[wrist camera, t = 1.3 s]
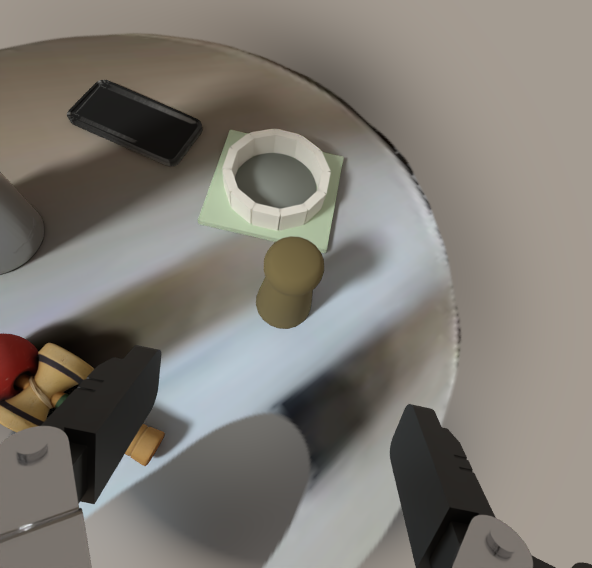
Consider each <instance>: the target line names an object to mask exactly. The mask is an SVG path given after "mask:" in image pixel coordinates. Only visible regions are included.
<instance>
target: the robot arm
mask: <svg viewBox="0 0 592 568" xmlns="http://www.w3.org/2000/svg"><path fill="white" fill-rule="evenodd" d="M43 236H44V224H43V221H42V218H41V216H40V215H39V213H38V212H37V211H36V210H35V209H34V208H33V207H32V205H31V204H30V203H29V202H28V201H27V200H26V199H25V198H24V197H23V196H22V195H21V194H20V193H19V191H18V190H17V189H16V188H15V187H14V186H13V185H12V184H11V183H10V182H9V181H8V180H7V178H6V177H5V176H4V175H3V174H2V173H1V172H0V274H3V273H6V272H9V271H11V270H13V269H16V268H18V267H19V266H21V265H22V264H24V263H25V262H27V261H28V260H29V259H30V258H31V257H32V256H33V255H34V254H35V253H36V251H37V250H38V248H39V247H40V245H41V242H42V240H43ZM160 363H161V351H160V350H158V349H153V348H148V347H144V346H139V345H135V346H134V347H133V348H132V349H131V350H130V352H129V353H128V354H127V355H126V356H125V357H124V358H123V359H120V358H115V357H113V358H111V359H109V360H107V361H106V362H104V363H102V364H100V365H98V366H97V367H96V368H95V369H94V370H93V371H92V372H91V373H90V374H89V375H88V376H87V379H84V380H83V382H82V383H81V384H80V385H79V386H78V388H77V389H75V390H74V391H73V392H72V393H71V394H70V395H69V396H68V397H67V398H66V399H65V400H64V401H63V403H62V404H61V405H60V406H59V407H58V408H57V409H56V410H55V411H54V412H53V413H52V414H51V415H50V416H49V417H48V418H47V419H46V420H45V421H44V422H43V423H42V425H41V426H36V427H31V428H27V429H24V430H21V431H19V432H17V433H15V434H13V435H11V436H9V437H8V438H6V439H5V440H4V441H3V442H2V443H1V444H0V568H92V567H91V560H90V555H89V548H88V541H87V535H86V529H85V523H84V517H83V512H82V509H81V508H79V505H78V504H79V502H80V501H81V502H86V503H91V504H95V502H96V501H97V499H98V497H99V496H100V494H101V492H102V491H103V489H104V487H105V486H106V484H107V482H108V481H109V479H110V477H111V476H112V474H113V472H114V471H115V469H116V467H117V466H118V464H119V462H120V461H121V459H122V457H123V456H124V454H125V452H126V451H127V449H128V447H129V446H130V444H131V442H132V441H133V439H134V437H135V436H136V434H137V432H138V431H139V429H140V427H141V426H142V424H143V422H144V421H145V419H146V418H147V416H148V414H149V413H150V411H151V409H152V407H153V405H154V402H155V399H156V396H157V392H158V384H159V374H160ZM390 460H391V464H392V469H393V473H394V477H395V481H396V486H397V490H398V494H399V498H400V502H401V507H402V511H403V515H404V519H405V524H406V528H407V532H408V536H409V541H410V544H411V549H412V553H413V558H414V562H415V566H416V568H555V567H553V566H551V565H549V564H547V563H545V562H543V561H541V560H539V559H537V558H535V557H534V556H532V555H531V553H530V551H529V549H528V547H527V545H526V544H525V542H524V541H523V540H522V539H521V537H520V536H519V535H518V534H517V533H516V532H515V531H514V530H513V529H512V528H511V527H509V526H508V525H507V524H505V523H503V522H502V521H501V520H499V519H497V518H495V516H494V513H493V511H492V509H491V507H490V505H489V503H488V501H487V499H486V497H485V495H484V492H483V491H482V488H481V486H480V484H479V482H478V480H477V478H476V476H475V474H474V473H473V472H472V467H471V465H470V463H469V461H468V460H467V457H466V455H465V453H464V451H463V449H462V446H461V444H460V442H459V441H458V440H457V439H456V438H455V437H454V436H453V434H452V433H451V432H450V431H449V430H448V429H446V428H442V427H441V425H440V422H439V420H438V418H437V416H436V413H435V411H434V410H433V409H430V408H425V407H421V406H416V405H411V404H408V405H407V406H406V408H405V410H404V412H403V414H402V417H401V419H400V422H399V424H398V426H397V429H396V431H395V434H394V436H393V438H392V441H391V446H390ZM572 568H592V565H591V564H588V563H577V564H575V565H574V566H573V567H572Z"/></svg>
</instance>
